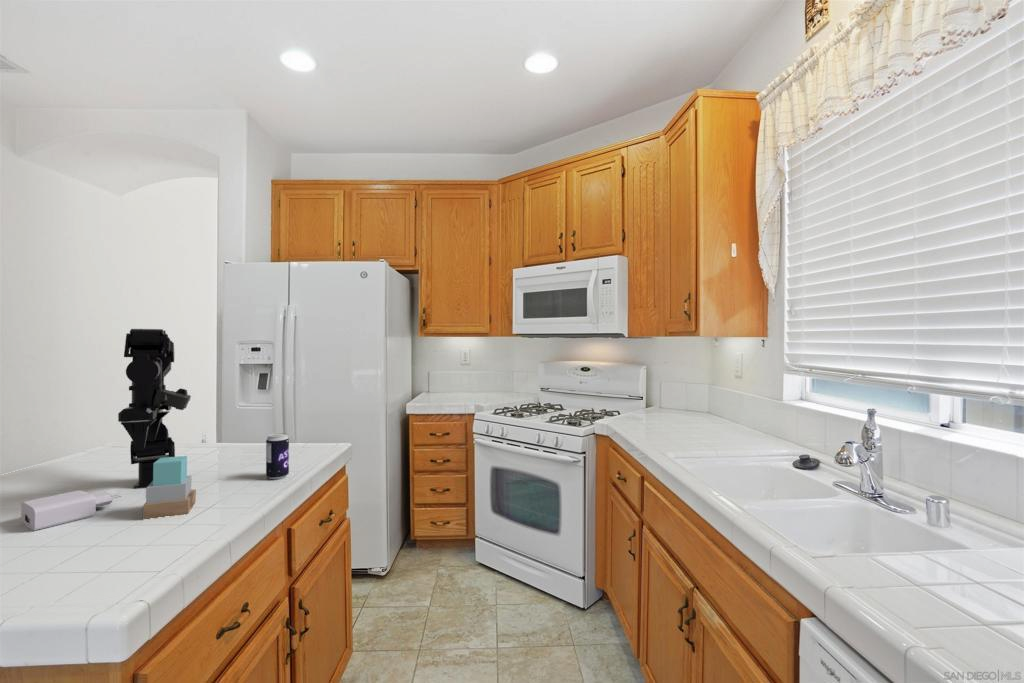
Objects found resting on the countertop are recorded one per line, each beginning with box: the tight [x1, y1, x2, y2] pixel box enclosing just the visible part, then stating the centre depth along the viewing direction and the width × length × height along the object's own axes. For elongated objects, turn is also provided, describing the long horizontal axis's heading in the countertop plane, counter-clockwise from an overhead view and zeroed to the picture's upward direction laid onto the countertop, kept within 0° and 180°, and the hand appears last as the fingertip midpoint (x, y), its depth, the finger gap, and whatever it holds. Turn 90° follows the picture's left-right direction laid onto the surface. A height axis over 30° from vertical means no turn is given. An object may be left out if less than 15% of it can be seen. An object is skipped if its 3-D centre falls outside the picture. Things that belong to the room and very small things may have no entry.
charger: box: [20, 490, 122, 532], centre depth 100 cm, size 5×9×15 cm
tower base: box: [142, 488, 197, 520], centre depth 102 cm, size 8×8×4 cm
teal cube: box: [153, 455, 188, 486], centre depth 102 cm, size 5×5×5 cm
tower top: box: [145, 474, 192, 504], centre depth 102 cm, size 7×7×4 cm
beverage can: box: [265, 432, 290, 480], centre depth 127 cm, size 6×6×12 cm
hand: (146, 445), depth 110 cm, fingers open, 9 cm apart
